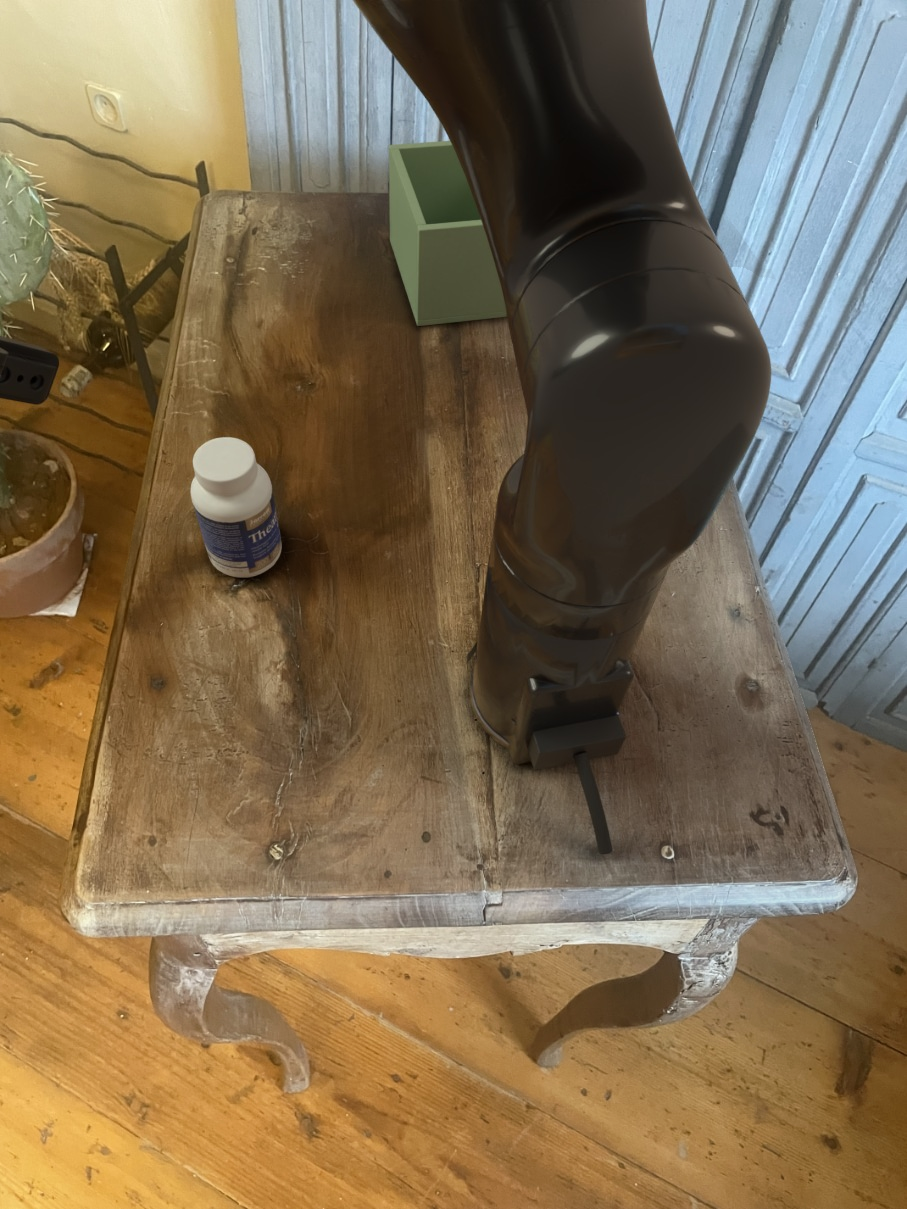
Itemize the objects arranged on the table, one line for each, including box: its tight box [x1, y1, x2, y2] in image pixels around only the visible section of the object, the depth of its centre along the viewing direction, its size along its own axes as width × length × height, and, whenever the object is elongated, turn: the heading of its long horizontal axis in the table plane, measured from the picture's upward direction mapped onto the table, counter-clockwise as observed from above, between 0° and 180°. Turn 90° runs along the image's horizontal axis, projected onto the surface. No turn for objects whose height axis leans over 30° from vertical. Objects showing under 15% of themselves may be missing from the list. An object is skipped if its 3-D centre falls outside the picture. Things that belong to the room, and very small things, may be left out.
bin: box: [388, 140, 507, 327], centre depth 80 cm, size 14×13×10 cm
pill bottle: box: [190, 436, 283, 578], centre depth 60 cm, size 5×5×10 cm
